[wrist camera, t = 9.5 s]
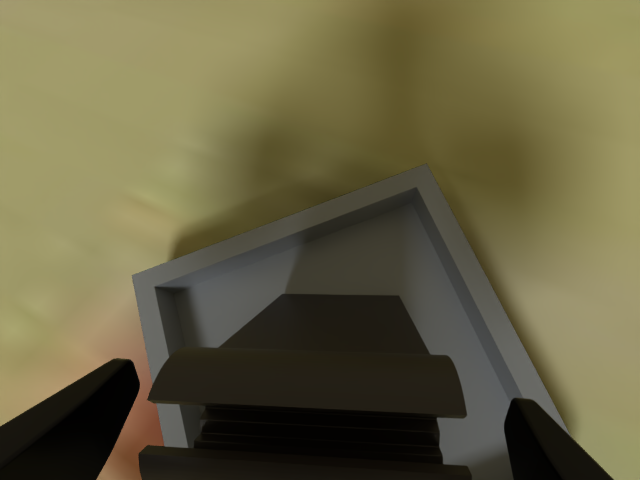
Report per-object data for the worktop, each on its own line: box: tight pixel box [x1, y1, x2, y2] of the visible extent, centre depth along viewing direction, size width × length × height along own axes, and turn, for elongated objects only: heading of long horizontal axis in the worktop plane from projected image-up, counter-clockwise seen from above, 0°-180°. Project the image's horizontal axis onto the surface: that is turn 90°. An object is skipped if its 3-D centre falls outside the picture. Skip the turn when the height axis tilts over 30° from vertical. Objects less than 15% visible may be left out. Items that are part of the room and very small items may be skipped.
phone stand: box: [139, 294, 472, 480], centre depth 12 cm, size 9×6×12 cm, turn 178°
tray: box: [132, 163, 571, 480], centre depth 18 cm, size 16×16×3 cm
